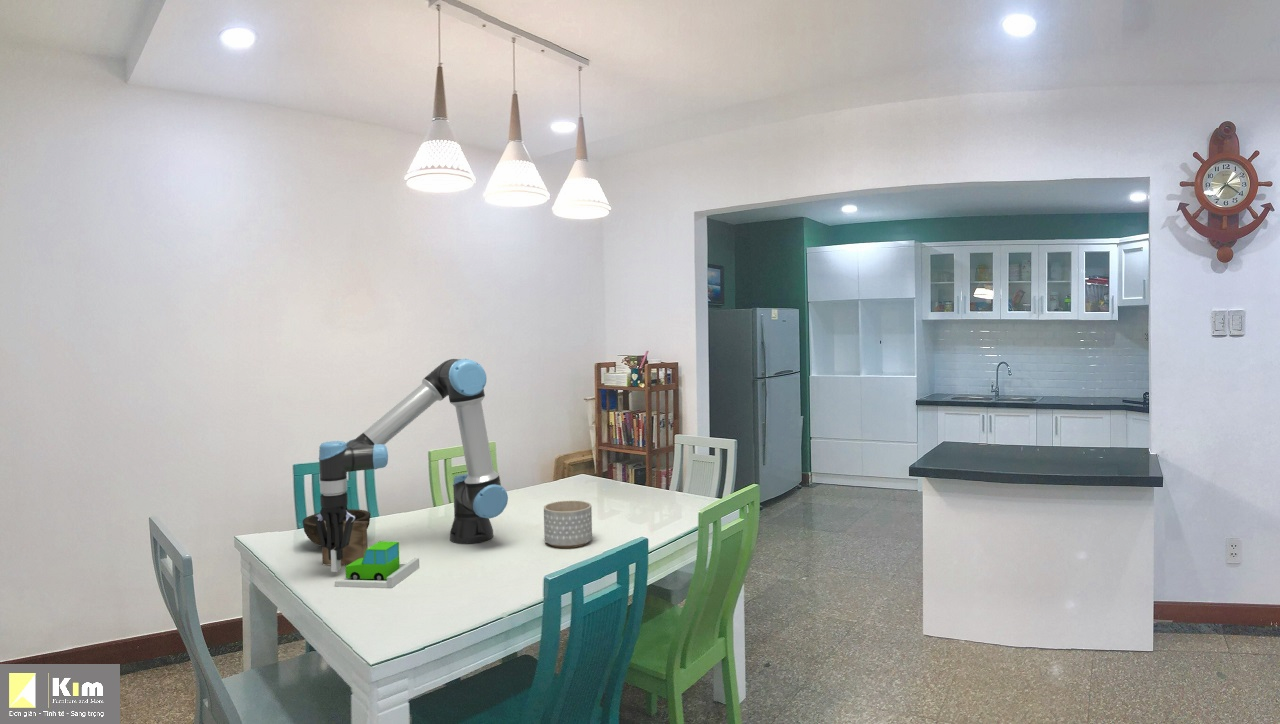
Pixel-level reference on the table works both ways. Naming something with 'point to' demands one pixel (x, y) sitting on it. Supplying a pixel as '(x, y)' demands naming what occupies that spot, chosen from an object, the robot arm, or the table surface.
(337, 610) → the table surface
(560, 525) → the planter
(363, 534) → the brown textured panel
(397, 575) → the bay
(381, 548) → the toy car
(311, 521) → the bowl
